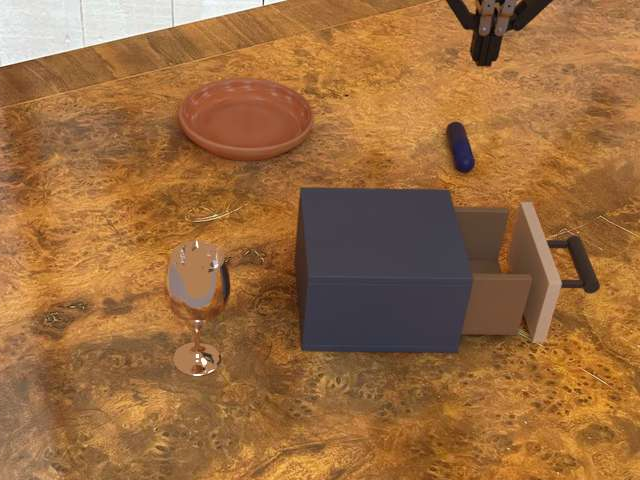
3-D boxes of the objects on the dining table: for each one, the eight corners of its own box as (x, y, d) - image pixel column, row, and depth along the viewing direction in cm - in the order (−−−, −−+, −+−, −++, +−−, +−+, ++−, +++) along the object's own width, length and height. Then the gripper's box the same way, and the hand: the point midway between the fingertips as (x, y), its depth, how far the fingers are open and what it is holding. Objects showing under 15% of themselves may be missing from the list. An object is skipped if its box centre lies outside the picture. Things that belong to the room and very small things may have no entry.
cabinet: (435, 261, 110) (449, 189, 104) (457, 353, 100) (473, 278, 94) (294, 259, 110) (300, 186, 104) (301, 351, 99) (308, 276, 93)
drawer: (563, 260, 109) (580, 202, 104) (595, 343, 100) (615, 284, 95) (386, 257, 109) (395, 199, 104) (401, 341, 99) (411, 281, 95)
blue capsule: (443, 133, 129) (446, 117, 127) (461, 133, 129) (464, 118, 127) (455, 176, 122) (458, 159, 120) (474, 176, 122) (478, 160, 121)
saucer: (324, 165, 123) (326, 143, 121) (186, 173, 121) (185, 151, 119) (299, 95, 135) (300, 74, 133) (173, 101, 133) (172, 80, 131)
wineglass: (187, 329, 101) (186, 229, 93) (239, 351, 99) (243, 250, 91) (153, 366, 97) (150, 264, 89) (207, 389, 95) (208, 287, 87)
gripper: (454, -84, 100) (427, 79, 112) (593, -81, 101) (551, 81, 112) (440, -114, 106) (415, 45, 117) (571, -111, 107) (534, 47, 118)
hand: (482, 62), depth 115 cm, fingers closed
